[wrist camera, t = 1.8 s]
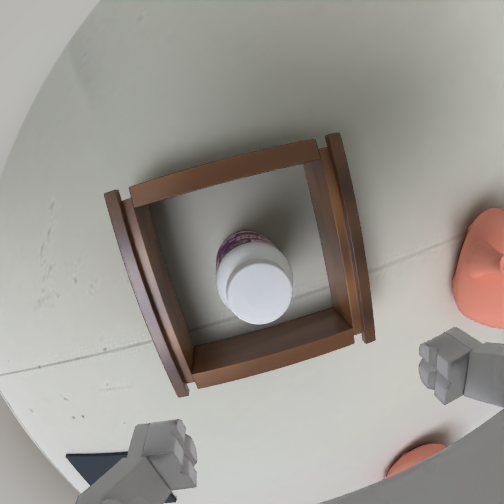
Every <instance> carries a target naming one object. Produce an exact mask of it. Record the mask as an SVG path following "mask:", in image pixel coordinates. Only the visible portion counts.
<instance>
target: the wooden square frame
mask: <svg viewBox="0 0 504 504" xmlns="http://www.w3.org/2000/svg"><path fill="white" fill-rule="evenodd" d="M325 139H326V143H327V146H328V147H325V148H320V149H318V147H317V143H316V139H311V140H306V141H300V142H296V143H291V144H286V145H281V146H277V147H272V148H268V149H263V150H259V151H255V152H250V153H246V154H242V155H238V156H234V157H230V158H226V159H222V160H218V161H215V162H211V163H207V164H204V165H200V166H196V167H193V168H189V169H186V170H182V171H179V172H175V173H172V174H169V175H165V176H162V177H159V178H156V179H153V180H149V181H146V182H143V183H140V184H137V185H134V186H131V187H129V191H130V194H131V198H129V199H126V200H123V201H121V197H120V193H119V190H113V191H110V192H107V193H105V194H104V197H105V200H106V204H107V208H108V212H109V215H110V219H111V222H112V226H113V229H114V232H115V236H116V239H117V242H118V245H119V249H120V252H121V255H122V258H123V261H124V264H125V267H126V270H127V273H128V276H129V279H130V282H131V285H132V287H133V290H134V293H135V296H136V299H137V301H138V304H139V307H140V309H141V312H142V315H143V317H144V320H145V322H146V325H147V327H148V330H149V332H150V335H151V337H152V340H153V342H154V344H155V347H156V349H157V352H158V354H159V356H160V359H161V361H162V363H163V365H164V368H165V370H166V372H167V374H168V377H169V379H170V381H171V383H172V385H173V387H174V390H175V392H176V394H177V396H178V397H184V396H188V395H189V389H188V386H187V384H186V383H191V382H195V383H196V385H197V388H198V389H200V388H204V387H209V386H213V385H217V384H222V383H226V382H230V381H234V380H238V379H242V378H246V377H249V376H253V375H257V374H260V373H264V372H268V371H271V370H275V369H278V368H282V367H285V366H288V365H292V364H295V363H298V362H301V361H304V360H308V359H311V358H314V357H317V356H320V355H323V354H326V353H329V352H332V351H335V350H337V349H340V348H343V347H346V346H349V345H351V344H354V343H355V342H354V335H357V334H359V333H362V340H363V341H364V342H365V343H366V344H367V343H370V342H372V341H375V340H376V339H375V328H374V318H373V309H372V300H371V292H370V284H369V277H368V270H367V263H366V257H365V250H364V244H363V238H362V232H361V227H360V221H359V216H358V211H357V205H356V200H355V196H354V191H353V186H352V181H351V177H350V172H349V168H348V164H347V159H346V155H345V151H344V147H343V143H342V139H341V135H340V133H339V132H338V133H332V134H328V135H326V136H325ZM299 164H303V165H304V169H305V173H306V177H307V181H308V186H309V190H310V194H311V198H312V203H313V207H314V212H315V216H316V221H317V225H318V230H319V235H320V240H321V245H322V250H323V254H324V260H325V265H326V270H327V275H328V280H329V286H330V291H331V297H332V303H333V308H330V309H327V310H324V311H321V312H318V313H314V314H311V315H308V316H305V317H302V318H298V319H295V320H292V321H288V322H285V323H282V324H278V325H275V326H271V327H268V328H264V329H261V330H257V331H254V332H250V333H247V334H243V335H239V336H235V337H232V338H228V339H224V340H220V341H216V342H212V343H208V344H204V345H200V346H196V347H194V344H193V342H192V339H191V336H190V334H189V331H188V328H187V326H186V323H185V320H184V317H183V314H182V312H181V309H180V306H179V303H178V300H177V297H176V294H175V291H174V288H173V285H172V282H171V279H170V276H169V273H168V270H167V267H166V264H165V261H164V257H163V254H162V251H161V248H160V244H159V241H158V238H157V234H156V231H155V228H154V224H153V221H152V217H151V214H150V210H149V206H148V205H149V204H152V203H155V202H158V201H162V200H165V199H168V198H172V197H175V196H178V195H182V194H185V193H189V192H192V191H196V190H199V189H203V188H207V187H210V186H214V185H218V184H221V183H225V182H229V181H233V180H236V179H240V178H244V177H248V176H252V175H256V174H260V173H264V172H269V171H273V170H277V169H281V168H286V167H290V166H294V165H299Z"/></svg>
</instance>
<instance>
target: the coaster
mask: <svg viewBox="0 0 504 504" xmlns="http://www.w3.org/2000/svg"><path fill="white" fill-rule="evenodd" d="M127 454H128V452H124V453H108V454H67V455H66V458H67V459H68V460H69V461H70V463H71V464H72V465H73V466H74V467H75V469H76V470H77V471H78V472H79V473H80V475H81V476H82V477H83V478H84V479H85V480H86V481H87V482H88V484H89V485H90V486H91V485H92V484H93V483H95V482H96V481H97V480H98V479H99V478H100V477H102V476H103V475H104V474H105V473H106V472H107V471H108V470H110V469H111V468H112V467H113V466H114V465H115V464H116V463H117V462H119V461H120V460H121V459H122V458H127ZM172 502H176V499H175V498H174V497H173V495H172V494H170V495H169V496H168V498H167V499H166V501H165V502H164V503H172Z"/></svg>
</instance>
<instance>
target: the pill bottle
mask: <svg viewBox="0 0 504 504" xmlns="http://www.w3.org/2000/svg"><path fill="white" fill-rule="evenodd" d="M292 286H293V273H292V269H291V266H290V264H289V262H288V260H287V258H286V257H285V256H284V255H283V254H282V253H281V251H280V250H279V249H278V248H277V247H276V246H275V245H274V244H273V243H272V242H271V241H270V240H268V239H267V238H266V237H265V236H263V235H261V234H259V233H257V232H252V231H241V232H238V233H235V234H233V235H231V236H230V237H228V238H227V239H226V240H225V241H224V242H223V243H222V245H221V246H220V248H219V251H218V254H217V259H216V287H217V291H218V294H219V296H220V298H221V300H222V301H223V303H224V304H225V305H226V306H227V307H228V308H229V309H230V310H231V311H233V313H234V314H235V315H236V316H237V317H238V318H240V319H241V320H243V321H245V322H247V323H251V324H266V323H270V322H272V321H274V320H276V319H278V318H279V317H280V316H282V315H283V314H284V313H285V311H286V310H287V309H288V307H289V305H290V302H291V299H292Z"/></svg>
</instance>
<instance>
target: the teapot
mask: <svg viewBox="0 0 504 504" xmlns="http://www.w3.org/2000/svg"><path fill="white" fill-rule="evenodd" d="M452 285H453V288H454V298H455V301H456V304H457V306H458V309H459V310H460V311H461V313H462V314H463V315H464V316H466V317H468V318H470V319H471V320H473V321H476V322H478V323H480V324H483V325H486V326H490V327H493V328H499V329H504V209H500V208H490V209H488V210H486V211H484V212H483V213H481V214H480V215H479V216H478V217H477V218H476V219H475V221H474V222H473V223H472V224H471V225H470V226H469V227H468V230H467V237H466V239H465V242H464V244H463V247H462V250H461V253H460V257H459V261H458V265H457V270H456V273H455V274H454V276H453V279H452Z"/></svg>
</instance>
